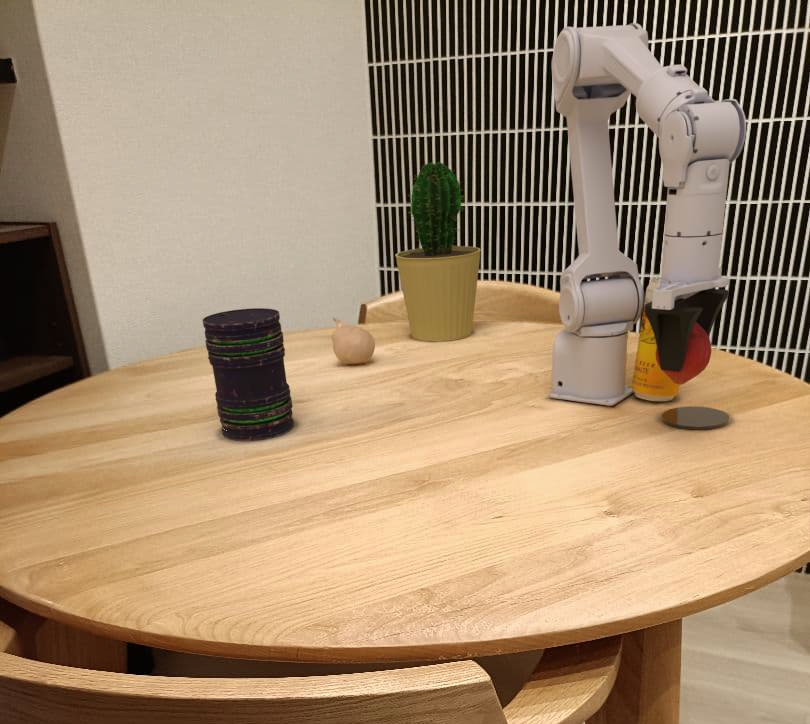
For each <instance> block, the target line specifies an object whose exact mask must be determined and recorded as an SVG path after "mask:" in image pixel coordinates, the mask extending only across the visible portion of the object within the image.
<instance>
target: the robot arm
mask: <svg viewBox="0 0 810 724" xmlns="http://www.w3.org/2000/svg"><path fill="white" fill-rule="evenodd" d="M687 73H688V68H686V66H685V65H683V64H670V65H666V66H662V65H661V63H660V62H659V61H658V60H657V58H656V56H654V54H653V53H652V52H651V51H650V49H649V35H648V31H647V30H646V29H644V28H643V27H642V25H641V24H639V23H637V22H632V23H629V24H622V25H621V24H620V25H607V26H606V25H605V26H587V27H586V26H584V27H574V26H565V27H564V28H563V29H562V30H561V31H560V33H559V35H558V36H557V37H556V40H555V43H554V48H553V54H552V57H551V77H552V78H551V79H552V86H553V88H552V89H553V97H554V103H555V111H556V112H557V113H559V114H560V115H562V116H563V117H565V119H566V129H567V138H568V150H569V160H570V172H571V183H572V194H573V205H574V215H575V225H576V235H577V237H576V238H577V248H578V255H577V257H576V258H575V260H573V262H571V263H570V264H569V266H568V267H566V268H565V270H563V272H562V274H561V275H560V279H559V285H560V287H559V288H560V289H559V298H558V314H559V317H560V320H561V323H562V325H563V326H564V327H565V328H562V329H561V330H560V331H558V333H557V335H556V337H555V339H554V342H553V347H552V353H551V354H552V359H551V360H552V361H551V363H552V364H551V392H550V393H549V394H548V395H549V398H551V399H556V400H565V401H566V400H567V401H572V402H578V403H579V402H580V403H587V404H593V405H600V406H601V405H602V406H608V407H613V406H615V405H616V404H618V403H620V402H621V401H623V400H624V399H625V398H628V397H629V396H630V395H632V394H633V393H634V391H633V390H632V386H627V385H626V378H627V377H626V375H627V374H626V373H627V356H628V338H629V337H628V336H629V332H631V331H634V325H635V324H636V323H637V322H638V321H640V319H641V316H642V315H643V309H644V302H645V291H644V288H643V284H642V282H641V280H640V275H639V270H638V264H637V263H636V262H635V261H634V260H632V259H631V258H630V257H628V256H627V255H625V253H623V252H621V251H620V250H619V241H618V240H619V239H618V227H617V213H616V204H615V191H614V179H613V178H614V177H613V168H612V167H613V166H612V155H611V154H612V153H611V143H610V142H611V141H610V132H609V131H610V130H609V120H610V117H611V115H612V114H614V113H615V112H616V111H618V110H620V109H621V108H623V107H624V106H625V104H626V102H627V101H628V98H629V97H630V95H631V94H632V95H633V96H635V98H636V99H635V109H636V113H637V115H638V117H639V118H640V119H641V121H643V122H644V123H645V125H646V126H647V127H648V128H649V129H650V130H651V131H652V133H654V135H655V136H656V137H657V138H658V149H659V150H658V151H659V156H660V159H661V164H662V168H663V169H662V182H663V186H664V187H665V188H667V191H666V193H667V194H666V205H665V206H666V207H665V219H664V221H665V222H664V235H663V246H662V247H663V248H662V261H661V273H660V275H661V276H660V277H658V278H659V282H658V286H657V288H655V289H653V298H652V302H649V303H647V304H646V305H645V315H646V317H647V319H648V320H649V323H650V325H651V327H652V330H653V333H654V336H655V340H656V345H657V351H658V357H659V363H660V367H661V370H665V371H674V372H680V371H681V370H682V367H683V365H684V361H685V357H686V353H687V348H688V343H689V339H690V336H691V332H692V330H693V327H694V325H695V322H696V323H698V324H699V325H700V326H701V327H702V328H703V329H704V330H705V331H706V333H707V334H708V336H709V337H710V335H711V332H712V330H713V326H714V324H715V322H716V319H717V316H718V315H719V313H720V311H721V309H722V307H723V305H724V304H725V302H726V301H727V300H728V298H729V292H730V291H729V290H728V289H723V288H725V287H727V286H729V285H730V278H729V277H724V276H722V271H723V267H722V266H720V261H721V253H722V252H721V250H722V240H723V231H724V222H725V214H726V213H725V211H726V203H727V192H728V183H729V174H730V173H729V172H730V165H731V164H732V163H733V162H735V161H736V159H738V157H739V155H740V154H741V152H742V150H743V148H744V145H745V141H746V135H747V120H746V119H747V118H746V114H745V112H744V109H743V107H742V106H741V105H740V104H739V102H738V100H737V99H735V98H728V99H723V100H721V101H720V100H714V99H713V98H712V97H711V96H710V95H709V93H708V91H707V90H706V89H705V88H704V87H703V86H700V85H699V84H698V83H696V82H695V81H694V80H693V79H692V78H691V77H690V76H689V75H688V74H687ZM599 278H603V279H599ZM591 279H593V280H591ZM582 280H585V281H582Z"/></svg>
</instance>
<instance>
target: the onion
mask: <svg viewBox="0 0 810 724" xmlns="http://www.w3.org/2000/svg"><path fill="white" fill-rule="evenodd" d="M711 356H712V343H711V338H710V336H708V334H707V333H706V331H705V330H704V329H703V328H702V327H701V326H700V325H699V324H698V323H696V322H695V325H694V327H693V330H692V332H691V336H690V339H689V343H688V348H687V353H686V357H685V361H684V365H683V367H682V370H681V371H680V372H674V371H665V370H663V372H664V373H665V374H666V375H667V376H668V377H670V379H671V380H672V381H673V382H674V383H675V384H678V385H680V386H682V385H684V384H686V383H687V382H689V381H691V380H693V379H694V378H696V377H697V376H699V375H700V374H701V373H702V372H703V371H704V370H706V368H707V367H708V365H709V363H710V360H711ZM656 361H657V363H658V365H659V367H660V363H659V357H658V351H657V348H656ZM660 368H661V367H660Z"/></svg>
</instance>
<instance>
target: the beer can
mask: <svg viewBox="0 0 810 724" xmlns="http://www.w3.org/2000/svg"><path fill="white" fill-rule="evenodd" d="M659 278H660V277H652V278H651V279H650V281H649V283H648V285H647V287H646V290H645V294H644V298H645V301H644V309H643V312H642V315H641V316H642V317H641V323H640V330H639V335H638V336H639V337H638V342H637V348H636V349H637V350H636V354H635V355H636V356H635V363H634V369H633V371H634V372H633V377H632V383H631V387H632V390H633V391H634V392H633V393H634V396H635V397H636V398H639V399H642V400H644V401H645V400H646V401H652V402H668V401H672V400H673V399H674V397H676V396H677V395H678V394H679V391H680V386H681V385H678V384H675V383H674V382H673V381H672V380H671V379H670V377H668V376H667V375H666V374H665V373H664V372H663V370H661V368H660V367H659V365H658V363H657V361H656V348H657V345H656V340H655V336H654V333H653V330H652V327H651V325H650V323H649V320H648V319H647V317H646V315H645V305H646V304H647V303H649V302H652V298H653V289H655V288H657V286H658V282H659Z"/></svg>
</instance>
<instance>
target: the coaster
mask: <svg viewBox="0 0 810 724" xmlns="http://www.w3.org/2000/svg"><path fill="white" fill-rule="evenodd" d="M661 421H662V422H663V423H664V424H666V425H668V426H670V427H672V428H677V429H683V430H693V431H695V430H696V431H705V430H715V429H719V428H723V427H725V426H727V425H729V423H730V421H731V416H730V415H729V414H728V413H727V412H725V411H723V410H721V409H717V408H713V407H707V406H706V407H705V406H695V405H694V406H679V407H673V408H670V409H667V410H665V411H663V412H662V414H661Z"/></svg>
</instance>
